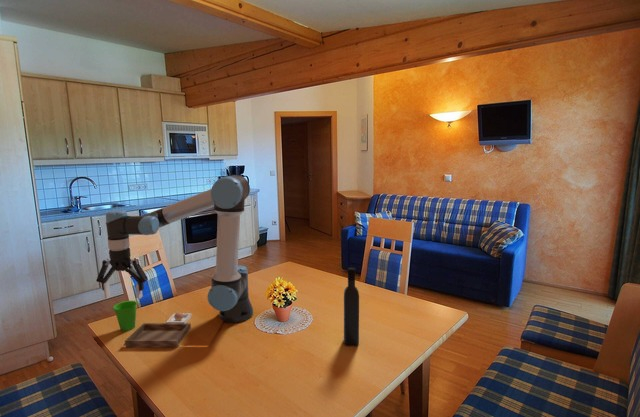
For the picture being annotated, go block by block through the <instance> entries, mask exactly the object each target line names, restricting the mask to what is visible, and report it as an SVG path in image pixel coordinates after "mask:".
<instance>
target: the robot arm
mask: <svg viewBox="0 0 640 417" xmlns="http://www.w3.org/2000/svg"><path fill="white" fill-rule="evenodd" d="M250 192H251V187H250V184H249V181H248V180H247V179H246V178H245V177H244V176H242V175H239V174H232V175H228V176H227V175H225V176H222V177H220V178H218V179H217V180H216V181H215V182H214V183H213V184H212V186H211V188H210V189H207V190H204V191H202V192H199V193H198V194H195V195H192V196H190V197H187V198H184V199H182V200H180V201H177V202H174V203H172V204H170V205H167V206H165V207H164V206H163V207H162V208H159V209H156V210H153V211H152V212H148V213H145V214H143V215H128V213H127V212H128V211H126V210H122V209H119V210H118V209H117V210H109V211H108V212H106V213H105V225H106V232H107V248H108V249H109V250H108V254H109V257H108V258H105V259H103V260H102V262H101V263H102V264H101V268H100V270H99V272H98V275H97V276H96V282H97V283H101V287H102V288H101V289H102V291H103V292H104V300H107V299H108V298H110V297H111V287H110V284H111V283H110V281H108V280H109V279H110V278H111V277H112V275H113V274H114V273H115V271H116V272H118V271H120V272H126V273H127V274H129V275H130V276H131V277H132V279H133V280H134V281H136V282H137V283H135V288H136V296H137V297H136V298H137V300H140V299H142V298H143V290H144V289H145V288H144V287H145V285H144V283H145V282H147V281H148V280H149V278H148V276H147V275H146V273H145V271H144V270H143V268H142V266H141V264H140V260H139V258H136V259H131V246H130V236H129V235H141V236H142V235H143V236H149V235H150V236H153V235H156V234H157V233H158V231H159V229H160V228H162V227H165V226H167V225H170V224H172V223H175V222H177V221H180V220H183V219H185V218H188V217H190V216H194V215H196V214H198V213H202V212H204V211H207V210H209V209H212V208H213V210H214V212H215V213H216V214H217V224H216V225H217V228H216V229H217V231H216V255H215V257H216V258H215V271H214V272H213V273H212V274H211V283H210V284H211V285H210V289H208V293H207V302H208V304H209V305H210V306H211V307H212V308H213V309H214V310H217V311H218V312H219V313H218V314H219V316H218V317H219V318H220V320H221V321H222V322H224V323H231V324H233V323H241V322H245V321H247V320H249V319H250V318H252V316H254V307H253V306H252V302H251V300H250V298H249V278H248V277H249V276H248V275H249V273H248V268H247V267H246V266H244V265H239V245H240V244H239V242H240V223H241V214H243V213H244V211H245V204H246V203H245V201H246V200H247V198H248V196H249V195H250ZM109 265H110V266H111V267H110V268H109ZM108 268H109V270H108ZM107 271H108V272H107ZM106 272H107V273H106Z"/></svg>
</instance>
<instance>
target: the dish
mask: <svg viewBox="0 0 640 417" xmlns="http://www.w3.org/2000/svg"><path fill="white" fill-rule="evenodd" d="M175 314H176V313H173V314H172V315H171V316H170V317H169V318H168V319H167V320H166V321H165V323H188V321H189V320H190V318H192V316H193V315H192V313H182V314H183V318H182V319H181V320H179V321H177V320H176V319H175V317H174V316H175Z"/></svg>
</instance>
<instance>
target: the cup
mask: <svg viewBox="0 0 640 417" xmlns="http://www.w3.org/2000/svg"><path fill="white" fill-rule="evenodd" d="M137 305H138V302H137V301H136V300H125V301H121V302H118V303H115V304H114V305H113V307H112V309H113V310H114V312H115V315H116V319H117V323H118V326H119V328H120V331H121V332H128V331H132V330H134V329H135V328H136V318H137V307H138V306H137Z"/></svg>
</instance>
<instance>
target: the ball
mask: <svg viewBox="0 0 640 417" xmlns="http://www.w3.org/2000/svg"><path fill="white" fill-rule="evenodd" d="M174 314H175V316H174V317H175V319H176V320H177V321H179V320H181V319H182V318H183V314H184V313H182V312H180V311H177V312H176V313H174Z"/></svg>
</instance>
